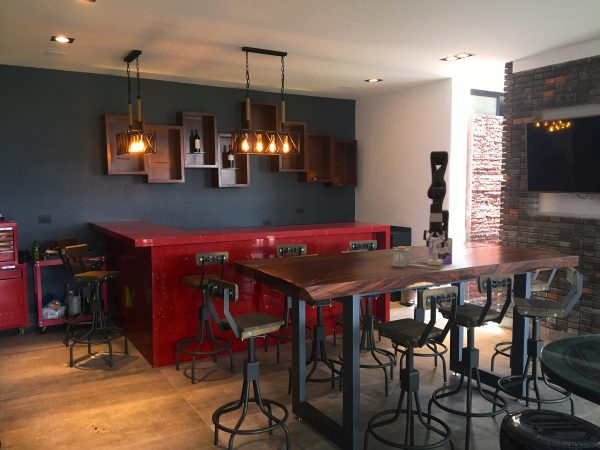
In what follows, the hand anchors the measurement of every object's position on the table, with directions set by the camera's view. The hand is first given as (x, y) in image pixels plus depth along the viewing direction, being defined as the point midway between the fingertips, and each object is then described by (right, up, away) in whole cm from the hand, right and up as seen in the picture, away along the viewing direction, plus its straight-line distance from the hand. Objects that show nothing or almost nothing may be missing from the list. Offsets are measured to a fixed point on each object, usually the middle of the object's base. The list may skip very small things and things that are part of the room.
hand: (435, 247), depth 304 cm
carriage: (0, -10, +1) cm, 10 cm away
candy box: (+8, -11, +17) cm, 22 cm away
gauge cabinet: (-18, -12, +10) cm, 24 cm away
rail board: (-5, -12, +4) cm, 14 cm away
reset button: (-18, -4, +10) cm, 21 cm away
